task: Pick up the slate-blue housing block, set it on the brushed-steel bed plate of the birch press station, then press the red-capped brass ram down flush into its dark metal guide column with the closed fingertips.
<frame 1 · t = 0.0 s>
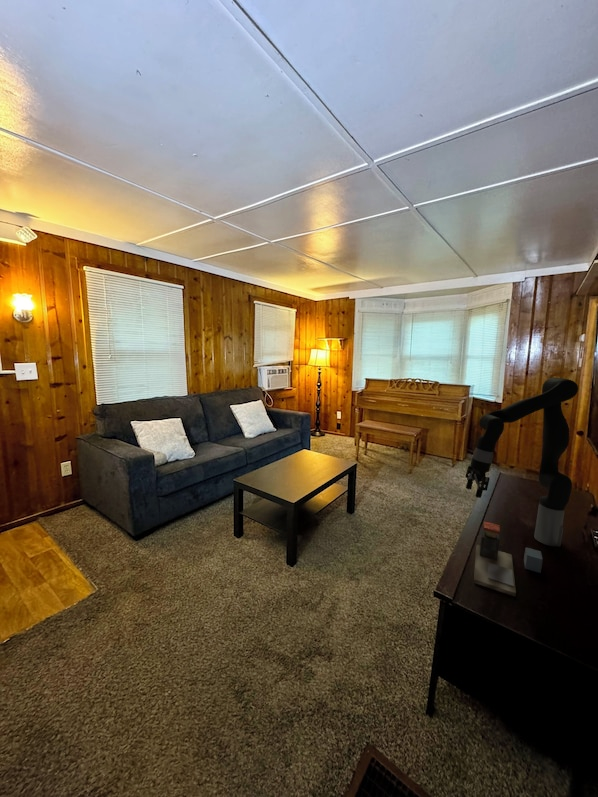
hand: (473, 492, 145), 22 cm above the table, tool pointing down, fingers open, 8 cm apart
press station: (493, 569, 127), on the table
housing block: (531, 566, 130), on the table
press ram: (490, 534, 133), point 11 cm above the table, slide at 0.0 cm
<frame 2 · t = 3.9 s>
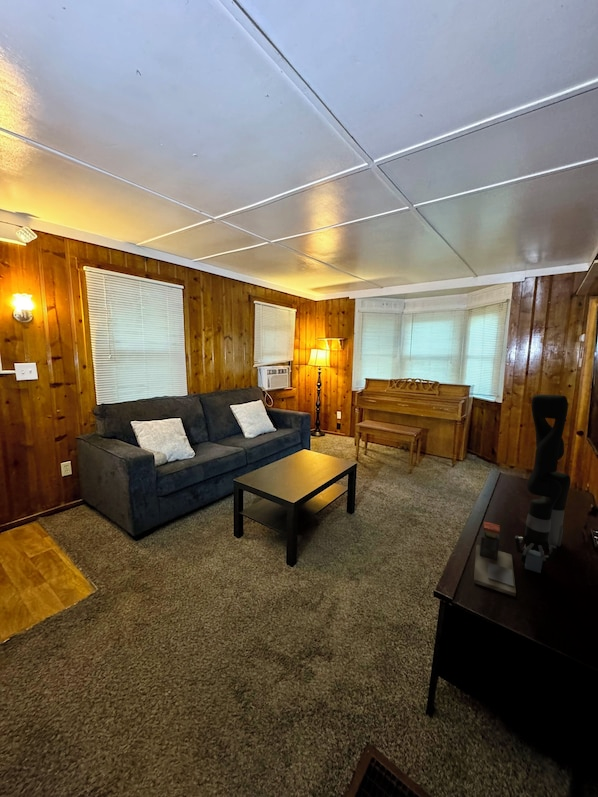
hand: (532, 564, 129), 1 cm above the table, tool pointing down, fingers closed on housing block, 5 cm apart
housing block: (531, 566, 130), on the table, touching gripper
everything else where it was.
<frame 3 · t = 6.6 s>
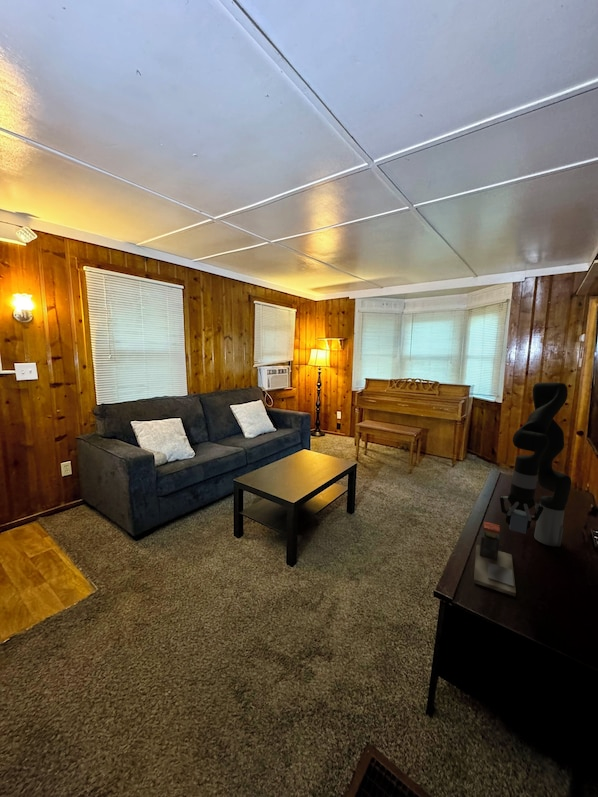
hand: (517, 526, 121), 20 cm above the table, tool pointing down, fingers closed on housing block, 5 cm apart
housing block: (516, 528, 122), point 20 cm above the table, touching gripper
everything else where it was.
when the fingers open (4 cm above the table, at t = 9.8 s): housing block drops 1 cm, resting on press station.
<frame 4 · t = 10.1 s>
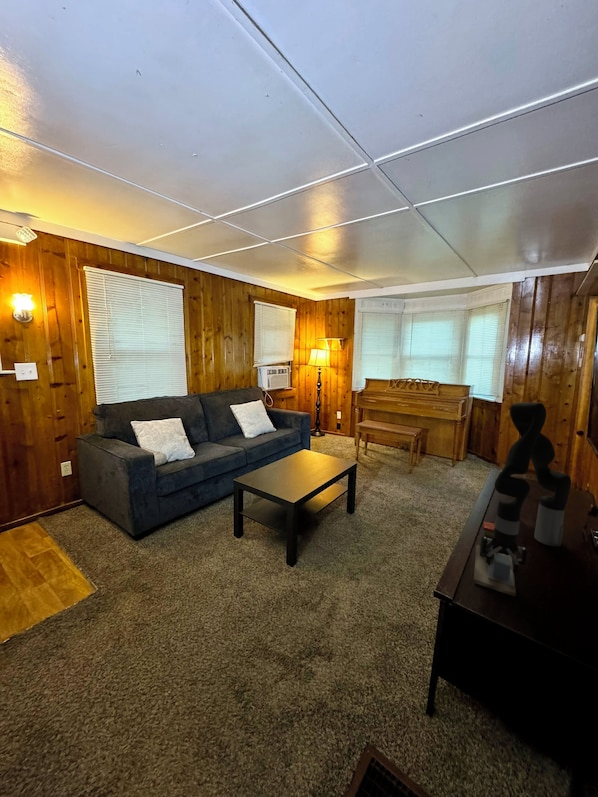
hand: (501, 567, 122), 4 cm above the table, tool pointing down, fingers open, 7 cm apart
housing block: (500, 573, 122), point 2 cm above the table, touching press station
everything else where it was.
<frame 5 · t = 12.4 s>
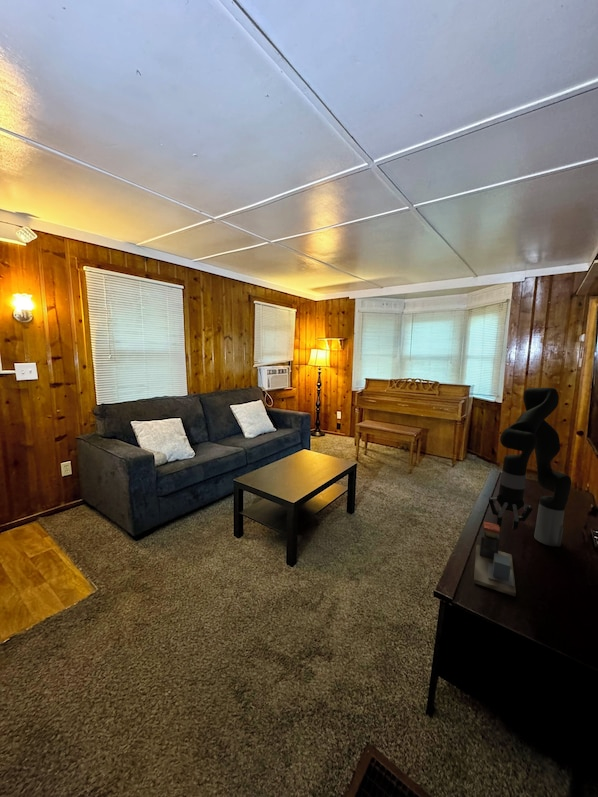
hand: (506, 527, 119), 21 cm above the table, tool pointing down, fingers open, 3 cm apart
nothing on the table moved.
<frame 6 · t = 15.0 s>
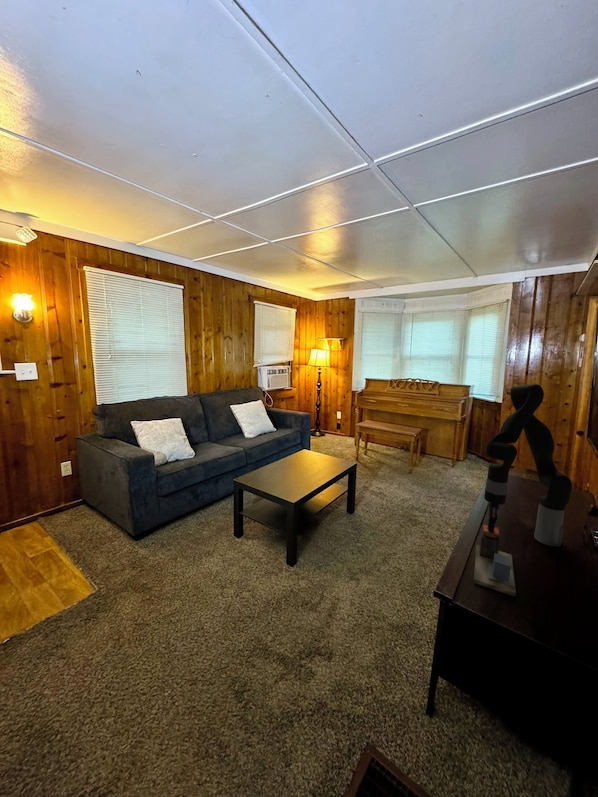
hand: (490, 529, 133), 13 cm above the table, tool pointing down, fingers closed
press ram: (490, 537, 133), point 9 cm above the table, slide at 1.4 cm, touching gripper
everything else where it was.
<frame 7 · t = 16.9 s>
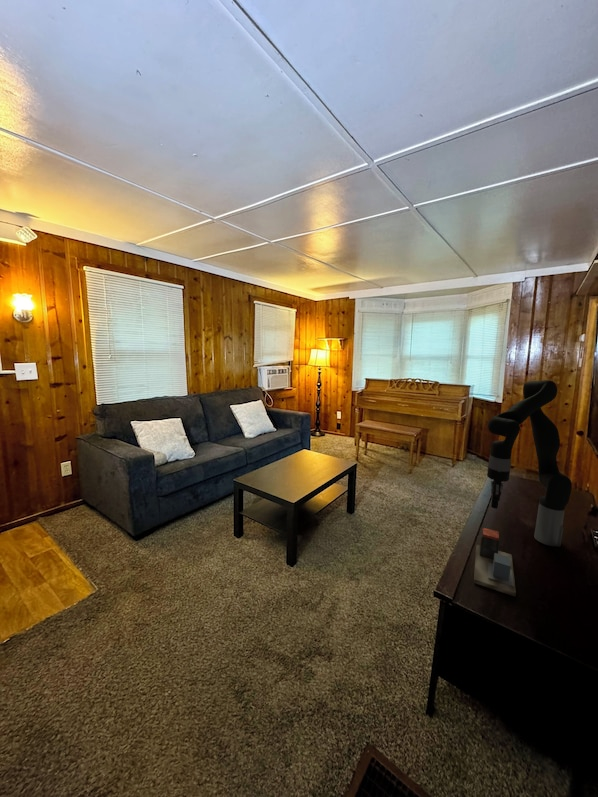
hand: (494, 507, 131), 23 cm above the table, tool pointing down, fingers closed
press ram: (489, 540, 133), point 8 cm above the table, slide at 3.0 cm
everything else where it was.
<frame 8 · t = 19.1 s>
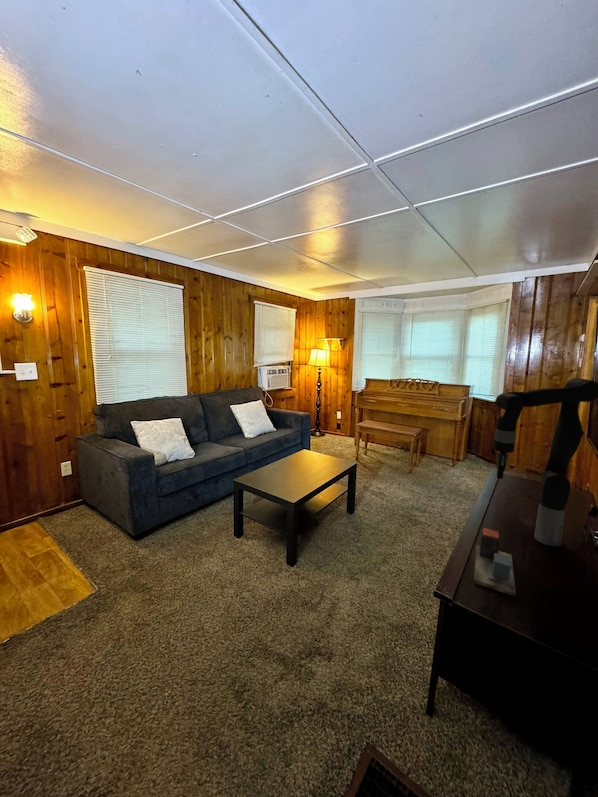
hand: (499, 478, 140), 31 cm above the table, tool pointing down, fingers closed
nothing on the table moved.
at the end: housing block 0.0 cm from the target spot on the press station, point 2.0 cm above the press station's base; housing block tilted 0°; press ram slide at 3.0 cm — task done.
